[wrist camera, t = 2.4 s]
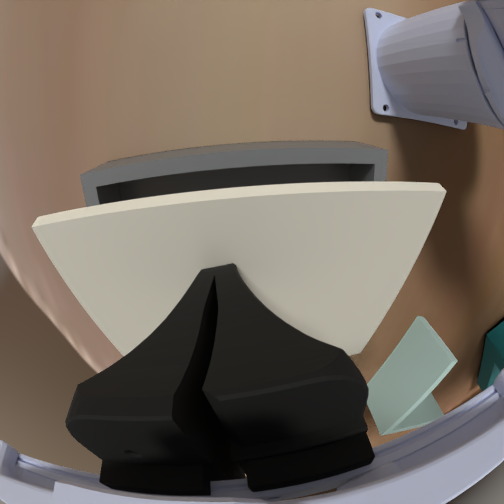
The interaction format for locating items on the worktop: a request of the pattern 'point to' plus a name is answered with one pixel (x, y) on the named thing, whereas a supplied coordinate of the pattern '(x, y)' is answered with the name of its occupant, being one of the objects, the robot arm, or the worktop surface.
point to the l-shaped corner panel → (410, 381)
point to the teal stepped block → (492, 357)
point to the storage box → (233, 168)
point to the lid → (247, 253)
